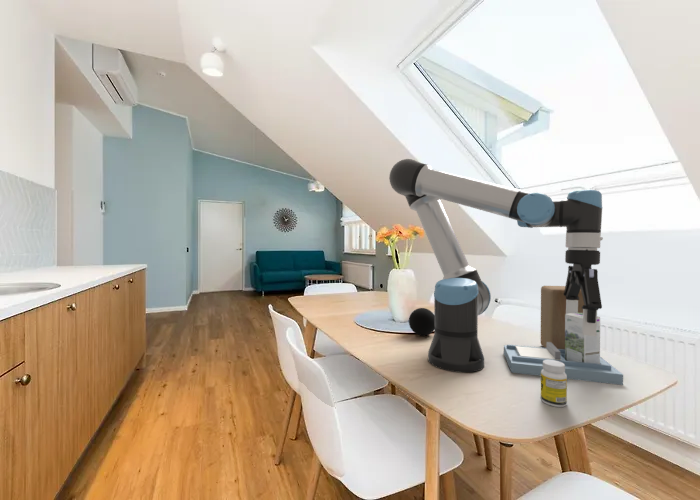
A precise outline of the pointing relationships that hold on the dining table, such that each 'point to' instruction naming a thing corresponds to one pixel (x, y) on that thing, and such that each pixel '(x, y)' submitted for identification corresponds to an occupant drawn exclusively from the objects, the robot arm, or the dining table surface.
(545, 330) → the wooden block
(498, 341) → the dining table surface
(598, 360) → the syrup box
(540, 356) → the cover
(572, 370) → the compartment tray
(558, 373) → the supplement bottle
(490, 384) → the dining table surface
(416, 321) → the decorative ball
